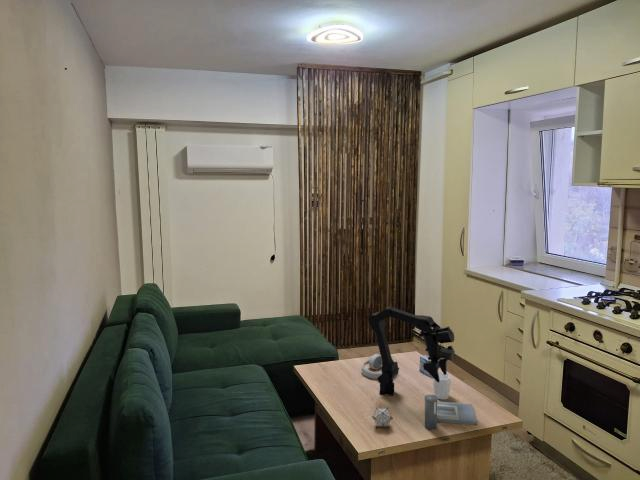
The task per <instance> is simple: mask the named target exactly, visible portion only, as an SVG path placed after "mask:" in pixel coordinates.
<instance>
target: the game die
mask: <svg viewBox="0 0 640 480" xmlns="http://www.w3.org/2000/svg"><path fill="white" fill-rule="evenodd" d="M375 409H376V410H375V411H374V414H373V415H372V416H371V418H372V419H373V420H374V422H375V425H376V426H375V428H376V429H377V428H380V427H382V428H383V427H384V428H386V427H387V429H389V428H390V427H389V425H390V423H391V420H394V419H393V418H394V417H392V415H391V414H390V412H389V410H388V409H389V407H388V406H387V407H386V408H378V407H377V406H375Z"/></svg>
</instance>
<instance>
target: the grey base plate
mask: <svg viewBox="0 0 640 480" xmlns="http://www.w3.org/2000/svg"><path fill="white" fill-rule="evenodd" d="M437 422H439V423H440V422H441V423H452V424H455V423H456V424H466V425H477V424H478V422H477V418H476V414H475V409H474V406H473V404H472V403H462V402H449V401H438V400H437Z"/></svg>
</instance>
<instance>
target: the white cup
mask: <svg viewBox="0 0 640 480" xmlns="http://www.w3.org/2000/svg"><path fill="white" fill-rule="evenodd" d="M438 374H439V380H440V382H437V381H436V380H435V379H434V378H433V377H432V379H433V392H434V393H433V395H435V396H437V398H438V400H447V399H449V398H450V389H451V375H449V374H446V375H444V374H443V372H438Z"/></svg>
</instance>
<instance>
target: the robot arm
mask: <svg viewBox="0 0 640 480" xmlns="http://www.w3.org/2000/svg"><path fill="white" fill-rule="evenodd" d="M388 317H390V318H393V319H395V320H397V321H398V320H399V321H400V322H404V323H407V324H410V325H412V326H414V328H416V329H417V330H419V331H420V333H419V334H418V338H423V340H424V345H425V349H424V350H425V352H427V354H428V355H427V356H428V360H431V361H426V362H425V363H424V365H423V368H424V370H426V371H428V372H429V373H430V374H431V376H430V377H432V379H433V378H434V379H435V380H436V381H437V382H440V380H439V374H438V373H439V370H441V373H443V374H444V375H446V374H447V369H448V368H447V365H448V364H447V363H448V361H452V360H453V359H454V355H455V349H454V348H453V346H452V345H448V346H447V347H443V345H442V344H447V343H454V342H455V334H454V332H453V330H452V329H451V328H450V326H445V327H441V326H440V325H439V324H438V323H436V322H435V320H434V319H433V317H432V316H429V315H422V314H421V315H417V314H413V313H411V312H408V311H404V310H401V309H398V308H396V307H393V306H388V307H387V308H384V310H382V311H377V312H375V313H372V314H371V315H369V317H368V319H367V321H368V324H369V325H368V326H369V327H370V329H371V330H372V332H373V333H374V335H375V338H376V343H377V346H378V347H377V348H378V350H379V353H380V354H379V355H381V358H382V365H381V367H380V368H381V369H380V370H381V373H382V375H381V376H379V377H378V378H377V379H378V380H377V382H378V383H379V393H378V394H379V395H380V396H381V395H382V396H393V395H394V394H395V382H394V379H395V378H396V377H397V376H398V375H399V372H400V371H399V370H400V367H399V364H398V361H395V362H394V361H393V360H392V359H393V357H392V354H391V351H390V347H389V343H388V339H387V336H386V331H385V328H386V319H387V318H388ZM447 375H448V374H447Z"/></svg>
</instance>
